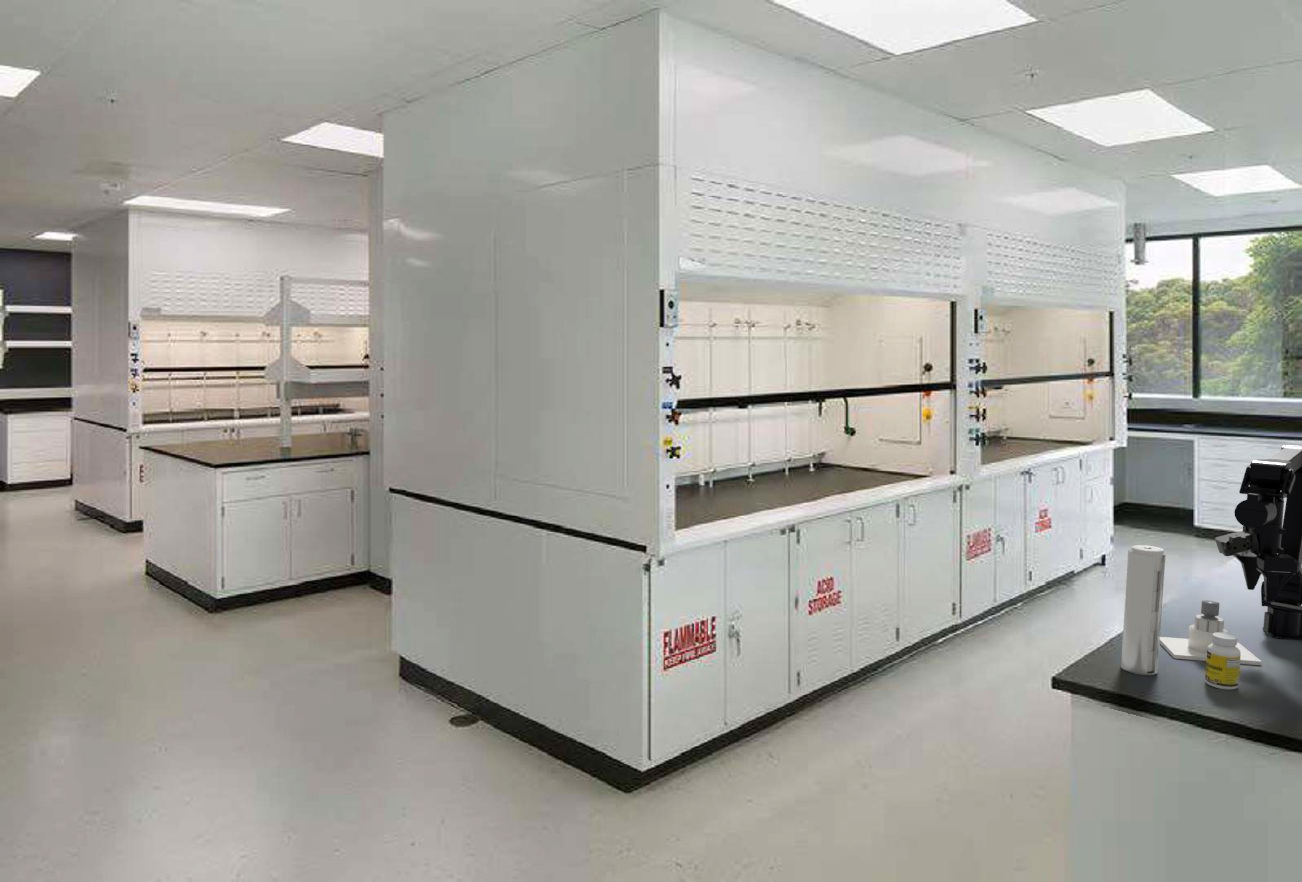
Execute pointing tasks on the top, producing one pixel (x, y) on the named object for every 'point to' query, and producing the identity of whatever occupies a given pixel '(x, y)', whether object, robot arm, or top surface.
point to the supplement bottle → (1223, 662)
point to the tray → (1182, 651)
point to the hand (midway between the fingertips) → (1259, 595)
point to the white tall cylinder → (1143, 609)
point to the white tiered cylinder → (1204, 632)
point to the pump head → (1210, 609)
